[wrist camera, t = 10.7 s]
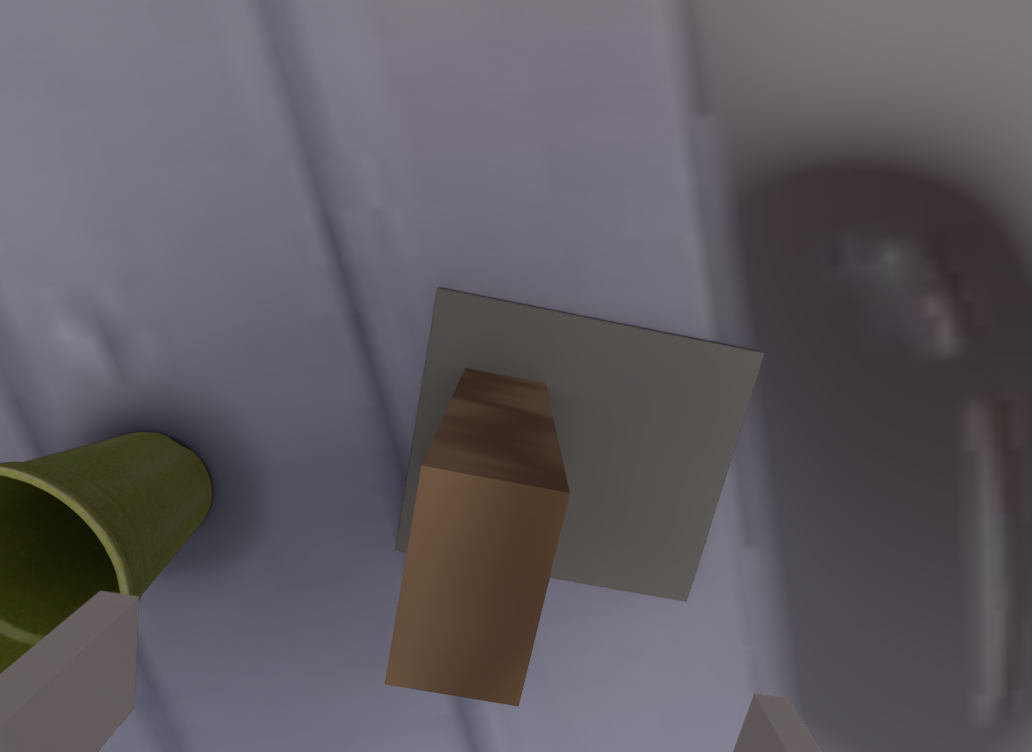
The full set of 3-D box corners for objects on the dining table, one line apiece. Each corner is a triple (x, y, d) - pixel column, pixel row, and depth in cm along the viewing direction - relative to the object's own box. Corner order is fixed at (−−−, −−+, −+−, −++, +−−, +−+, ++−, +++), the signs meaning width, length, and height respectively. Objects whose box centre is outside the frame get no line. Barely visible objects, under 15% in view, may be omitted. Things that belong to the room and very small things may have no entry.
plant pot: (35, 419, 27) (-187, 497, 18) (208, 380, 26) (63, 440, 18) (108, 577, 29) (-62, 712, 20) (270, 543, 28) (165, 667, 20)
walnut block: (441, 497, 27) (384, 684, 15) (465, 367, 25) (421, 465, 14) (517, 511, 27) (518, 706, 15) (545, 383, 26) (570, 493, 14)
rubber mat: (397, 543, 28) (395, 550, 28) (439, 287, 25) (437, 288, 25) (683, 594, 29) (686, 601, 28) (758, 351, 26) (764, 353, 25)
